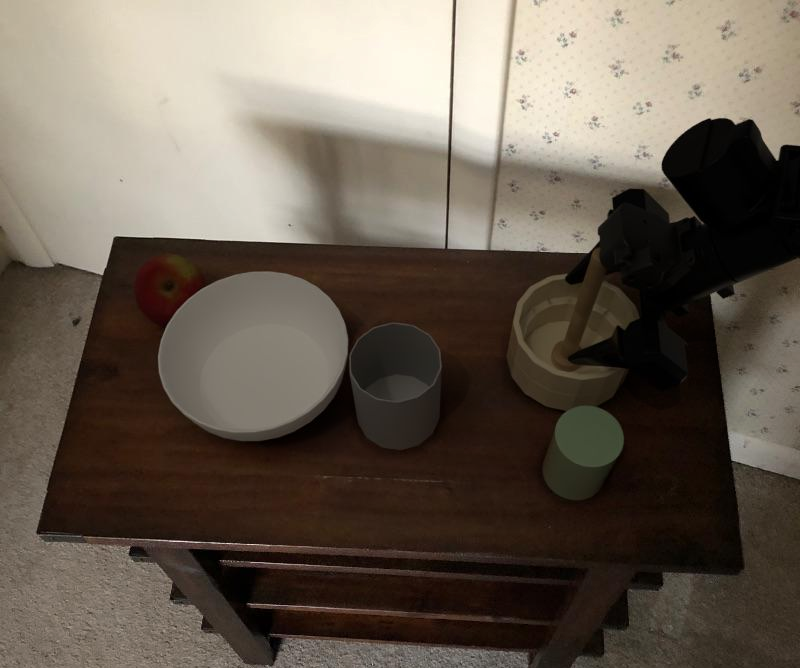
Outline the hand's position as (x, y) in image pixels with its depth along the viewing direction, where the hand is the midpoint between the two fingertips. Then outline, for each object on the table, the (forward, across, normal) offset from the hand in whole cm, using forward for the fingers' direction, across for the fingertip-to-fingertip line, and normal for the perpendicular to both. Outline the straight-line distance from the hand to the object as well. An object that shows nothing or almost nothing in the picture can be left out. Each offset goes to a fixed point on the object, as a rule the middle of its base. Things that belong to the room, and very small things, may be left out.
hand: (568, 320), depth 73 cm
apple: (+34, -4, -23) cm, 42 cm away
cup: (+17, +7, -6) cm, 19 cm away
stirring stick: (+4, 0, +6) cm, 7 cm away
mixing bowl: (+5, 0, +6) cm, 8 cm away
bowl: (+27, +5, -16) cm, 31 cm away
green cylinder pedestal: (+4, +12, +6) cm, 15 cm away
